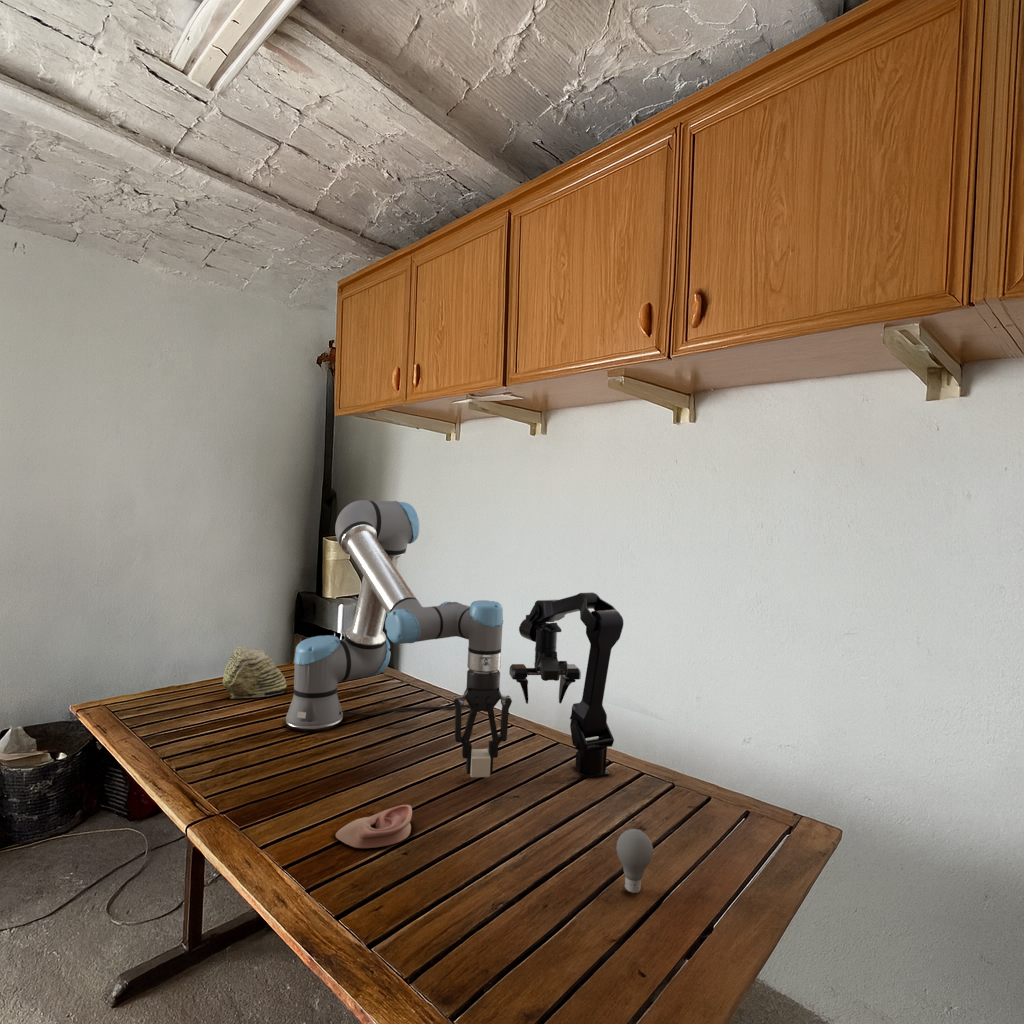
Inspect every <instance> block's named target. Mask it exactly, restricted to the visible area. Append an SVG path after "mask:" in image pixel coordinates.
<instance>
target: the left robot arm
mask: <svg viewBox="0 0 1024 1024" xmlns="http://www.w3.org/2000/svg"><path fill="white" fill-rule="evenodd" d="M420 526H421V525H420V519H419V516H418V513H417V511H416V509H415V507H414V506H413V505H411V504H410V503H408V502H405V501H398V500H367V499H361V500H355V501H352V502H350V503H348V504H347V505H346V506H345V507H343V509H341V511H340V512H339V514H338V516H337V517H336V521H335V526H334V530H335V538H336V541H337V543H338V545H339V547H340V549H341V550H342V552H344V553H345V554H347V555H349V556H351V558H352V560H353V561H354V563H355V565H356V566H357V568H358V569H359V571H360V573H361V574H362V580H361V584H360V589H359V594H358V598H357V602H356V606H355V607H356V608H355V613H354V617H353V622H352V625H351V626H349V627H347V628H346V630H345V634H344V638H343V639H340V638H339V637H338V636H336V635H331V634H330V635H329V634H327V635H316V636H311V637H308V638H306V639H303V640H301V641H300V642H299V643H298V644H297V645H296V647H295V652H294V653H295V654H294V659H293V662H294V672H293V695H292V696H293V697H292V699H291V702H290V704H289V708H288V711H287V713H286V715H285V726H286V728H287V729H289V730H291V731H294V732H295V731H296V732H301V733H316V732H325V731H329V730H332V729H335V728H337V727H339V726H340V725H342V723H343V722H344V715H352V716H362V717H372V716H374V717H375V716H378V715H383V714H387V713H391V712H400V711H401V712H402V711H416V710H418V711H419V710H448V709H454V710H455V711H454V713H455V714H454V739H455V742H456V743H460V744H462V746H461V755H462V758H463V759H466V760H465V761H466V762H465V763H466V764H465V771H466V775H470V773H471V752H472V749H473V744H472V741H471V740H470V739H471V736H472V733H473V729H474V724H475V722H476V717H477V715H478V713H479V712H486V713H487V717H488V723H489V729H490V733H491V739H492V740H488V751H489V755H490V758H491V762H490V775H491V774H493V770H494V768H493V767H494V758H496V759H497V758H498V756H499V745H500V743H502V742H507V740H508V725H509V711H510V707H511V705H512V703H513V700H512V698H511V696H510V695H505V694H502V693H501V690H500V688H501V687H500V686H501V671H500V669H501V665H502V664H501V661H502V641H503V639H502V638H503V624H504V613H503V611H504V609H503V605H502V604H501V603H500V602H498V601H495V600H485V599H484V600H483V599H480V600H474V601H472V602H471V603H470V605H467V604H463V603H460V602H457V601H444V602H441V603H440V604H439V605H432V606H423V605H422V604H421V603H420V601H419V600H418V599H417V597H416V595H415V594H414V593H413V591H412V590H411V589H410V587H409V585H408V584H407V582H406V581H405V579H404V577H403V575H402V574H401V573H400V572H399V570H398V569H397V567H398V562H399V558H400V557H402V556H403V555H405V554H406V552H407V548H408V544H409V545H410V544H414V542H416V541H417V539H418V537H419V534H420ZM383 629H385V630H386V633H385V632H384V631H383ZM454 637H458V638H461V639H465V640H468V646H467V668H468V669H467V671H466V688H465V690H464V692H463V694H461V695H458V696H457V695H454V696H453V697H452V700H453V704H454V705H442V706H441V705H440V706H439V705H438V706H412V707H410V706H409V707H396V708H388V709H384V710H380V711H376V712H359V711H358V712H357V711H343V709H342V706H341V702H340V699H339V695H338V683H340V682H346V681H352V680H358V679H364V678H365V679H368V678H371V677H374V676H377V675H380V674H382V673H383V672H385V670H386V669H387V668H388V665H389V663H390V660H391V654H392V653H391V651H390V650H391V644H390V641H391V642H392V643H393V644H397V645H400V644H401V645H402V644H414V643H418V642H424V641H430V640H440V639H449V638H454ZM389 640H390V641H389ZM465 701H466V702H467V704H464V702H465ZM499 701H500V704H501V714H500V715H501V716H500V728H499V729H500V732H499V734H498V729H497V724H496V718H495V717H496V716H495V711H494V708H495V706H497V704H498V703H499ZM462 708H469V713H468V716H467V720H466V722H465V723H466V724H465V728H464V731H463V734H462V717H463V716H462V715H463V714H462V713H463V710H462Z"/></svg>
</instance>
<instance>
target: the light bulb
mask: <svg viewBox="0 0 1024 1024" xmlns="http://www.w3.org/2000/svg"><path fill="white" fill-rule="evenodd" d="M615 849H616V854H617V857H618V859H619V861H620V863H621V865H622V867H623V873H624V874H623V875H624V876H625V878H624V888H625V890H627V891H628V892H630V893H634V894H635V893H639V892H640V891H641V889H642V887H641V886H642V879H643V877H644V875H645V871H646V868H647V867H648V866H649V864H650V863H651V861H652V859H653V855H654V847H653V843H652V841H651V838H649V836H648V835H647V834H646V833H645V832H643V831H642V830H641V829H636V828H629V829H627V830H625V831H623V832H622V833H621V834H620V835H619V837H618V839H617V841H616V847H615Z"/></svg>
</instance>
